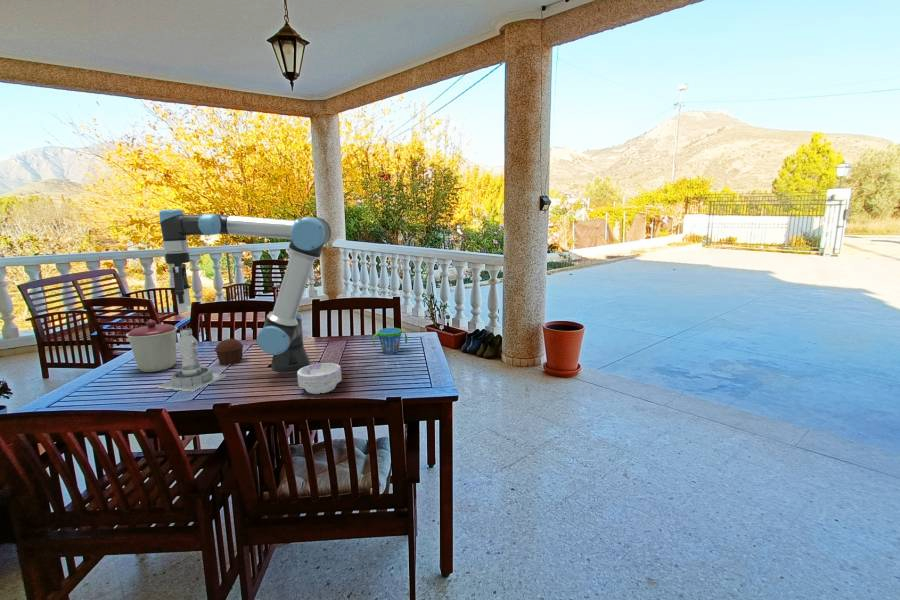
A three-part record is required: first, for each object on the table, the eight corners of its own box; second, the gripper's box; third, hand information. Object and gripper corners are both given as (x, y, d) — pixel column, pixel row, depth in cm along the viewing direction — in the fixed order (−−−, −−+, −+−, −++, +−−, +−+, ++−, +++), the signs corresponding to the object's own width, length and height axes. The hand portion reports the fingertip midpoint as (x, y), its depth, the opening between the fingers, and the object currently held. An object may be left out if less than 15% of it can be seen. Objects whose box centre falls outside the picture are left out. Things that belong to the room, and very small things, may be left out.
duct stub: (225, 376, 176) (224, 367, 175) (192, 392, 161) (191, 381, 160) (193, 373, 181) (192, 364, 180) (158, 388, 166) (156, 378, 165)
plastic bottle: (203, 380, 170) (196, 329, 166) (183, 384, 166) (175, 332, 163) (202, 375, 175) (195, 326, 171) (182, 379, 172) (175, 329, 168)
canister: (184, 369, 186) (177, 320, 182) (132, 379, 176) (123, 327, 172) (180, 358, 201) (174, 313, 197) (132, 367, 190) (124, 319, 186)
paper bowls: (317, 379, 171) (315, 359, 169) (350, 384, 165) (349, 364, 163) (289, 394, 157) (287, 373, 155) (324, 400, 151) (322, 378, 150)
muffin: (219, 359, 198) (216, 337, 197) (246, 356, 202) (243, 335, 200) (214, 367, 187) (211, 345, 185) (242, 364, 191) (240, 342, 189)
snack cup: (373, 356, 197) (372, 334, 195) (373, 349, 207) (372, 328, 205) (408, 354, 199) (407, 332, 197) (406, 347, 210) (406, 326, 208)
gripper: (169, 250, 172) (177, 304, 176) (159, 255, 150) (168, 316, 154) (191, 249, 175) (199, 302, 179) (184, 253, 153) (193, 313, 157)
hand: (185, 308), depth 166 cm, fingers open, 13 cm apart
